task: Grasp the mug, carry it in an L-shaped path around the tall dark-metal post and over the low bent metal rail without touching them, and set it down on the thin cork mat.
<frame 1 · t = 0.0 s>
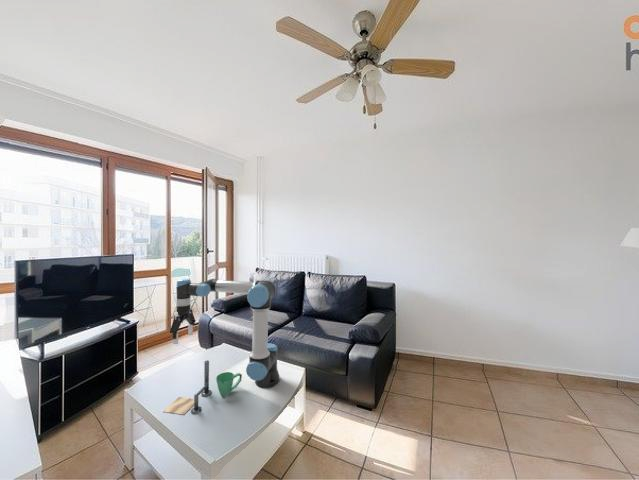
hand: (183, 339, 158), 28 cm above the table, fingers open, 13 cm apart
mug: (229, 392, 153), on the table
metal wall bracket: (202, 401, 144), on the table
coaster: (181, 405, 140), on the table
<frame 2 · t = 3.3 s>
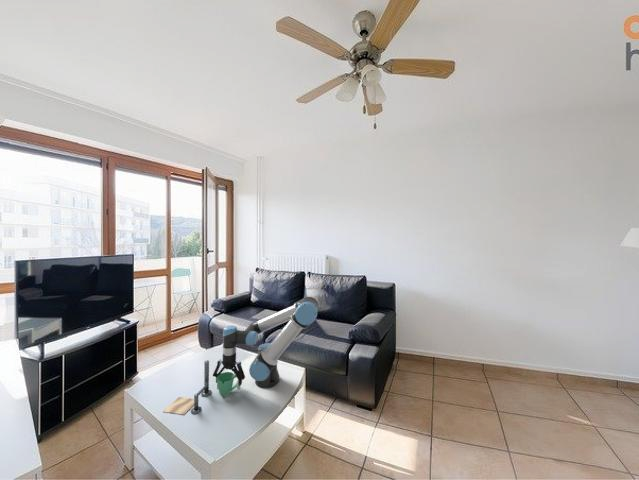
hand: (228, 389, 153), 2 cm above the table, fingers open, 12 cm apart
nothing on the table moved.
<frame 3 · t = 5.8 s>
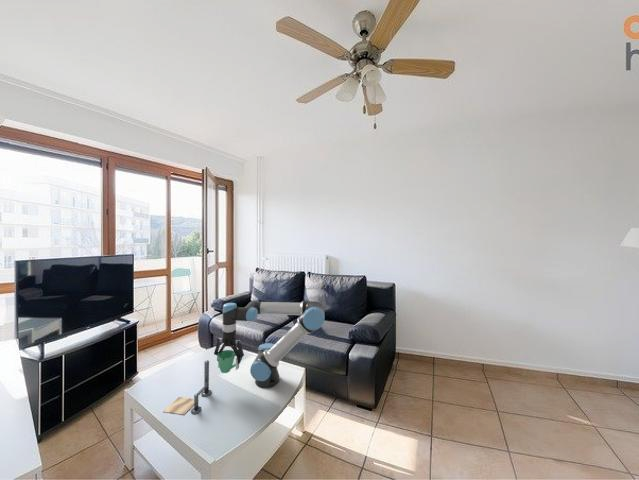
hand: (228, 367, 152), 15 cm above the table, fingers closed on mug, 10 cm apart
mug: (229, 370, 152), point 14 cm above the table, touching gripper
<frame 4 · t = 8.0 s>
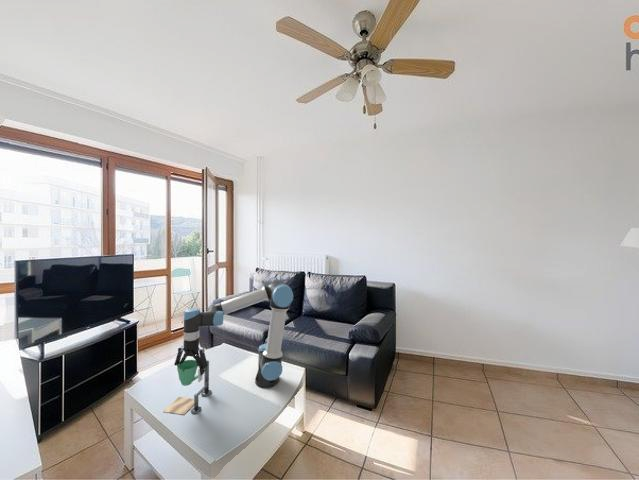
hand: (190, 379, 138), 15 cm above the table, fingers closed on mug, 10 cm apart
mug: (191, 381, 138), point 14 cm above the table, touching gripper
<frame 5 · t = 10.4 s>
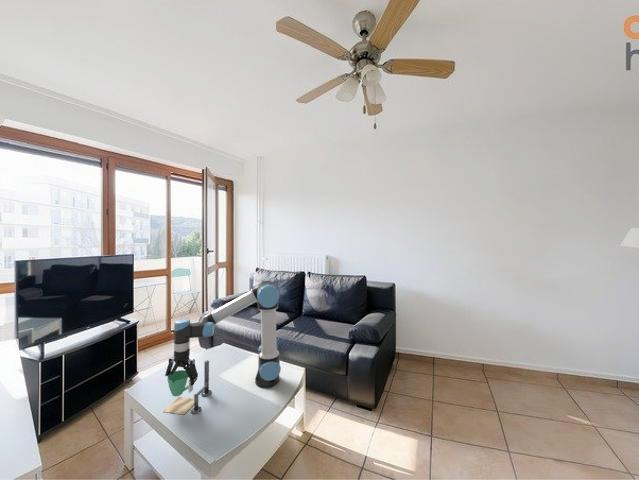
hand: (181, 389, 140), 9 cm above the table, fingers closed on mug, 10 cm apart
mug: (182, 392, 140), point 7 cm above the table, touching gripper
when the fingers open (2 cm above the table, at t = 12.6 s): mug moves 2 cm, resting on coaster.
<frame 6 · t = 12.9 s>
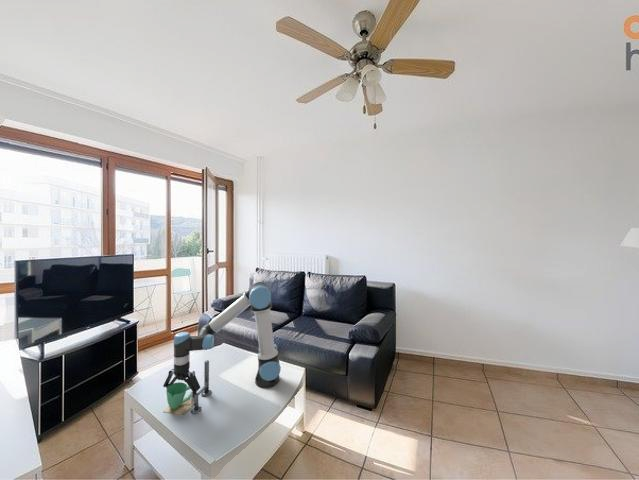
hand: (181, 401, 140), 3 cm above the table, fingers open, 13 cm apart
mug: (179, 404, 140), resting on coaster, touching gripper
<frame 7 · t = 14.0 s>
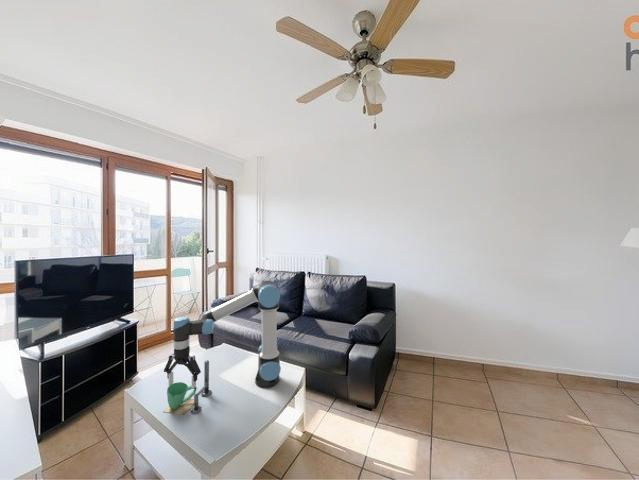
hand: (182, 385, 140), 11 cm above the table, fingers open, 13 cm apart
mug: (179, 404, 140), resting on coaster
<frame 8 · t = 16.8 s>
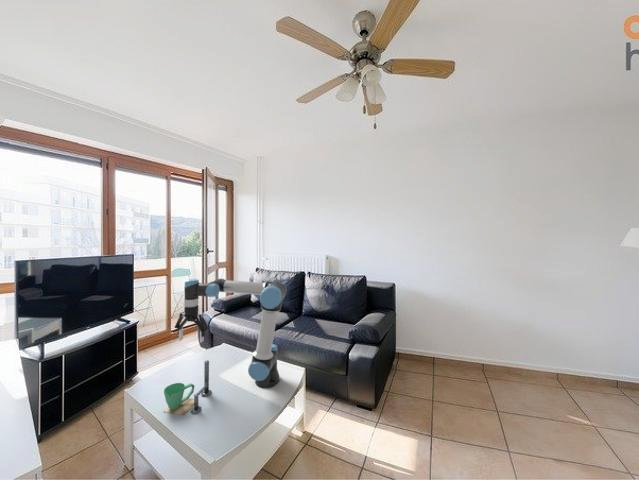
hand: (191, 340, 155), 29 cm above the table, fingers open, 13 cm apart
at the end: mug 1.4 cm from the coaster (horizontally); mug tilted 0°; mug touching coaster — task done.
